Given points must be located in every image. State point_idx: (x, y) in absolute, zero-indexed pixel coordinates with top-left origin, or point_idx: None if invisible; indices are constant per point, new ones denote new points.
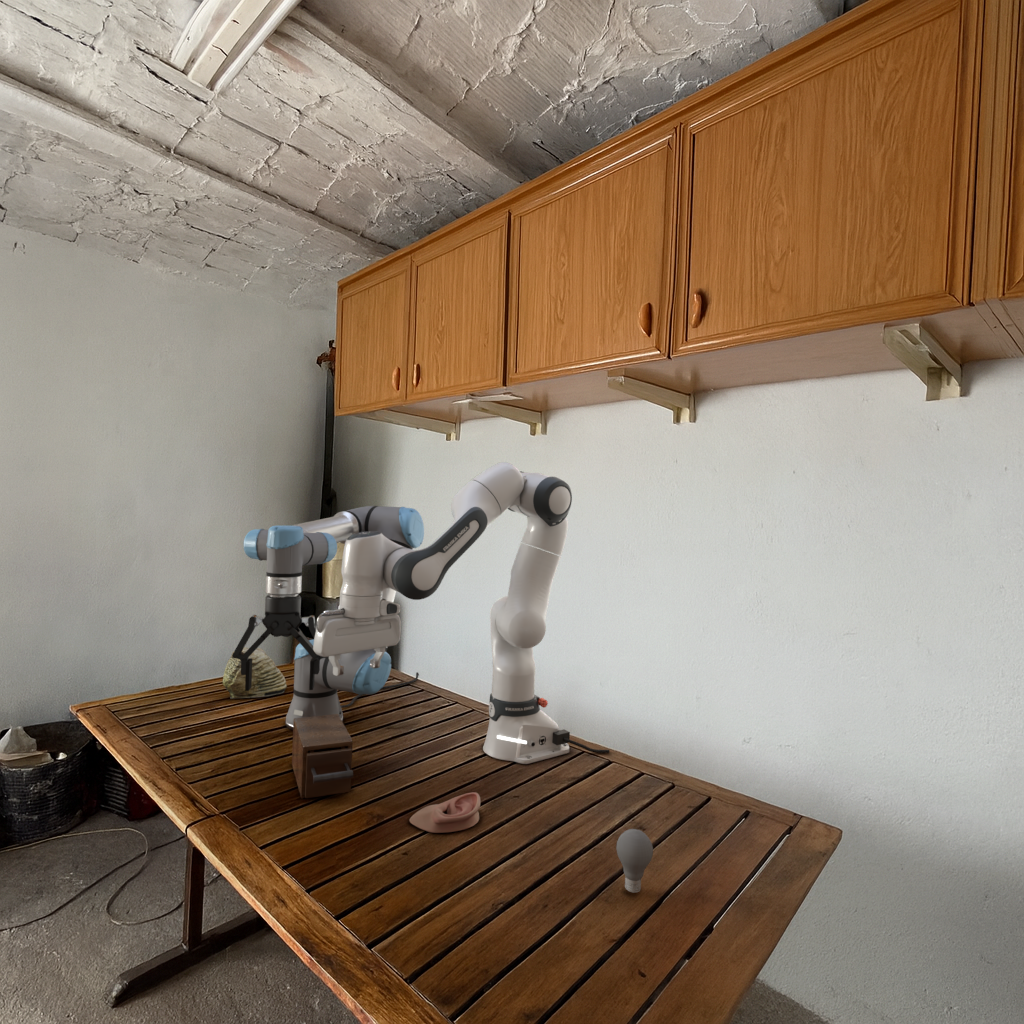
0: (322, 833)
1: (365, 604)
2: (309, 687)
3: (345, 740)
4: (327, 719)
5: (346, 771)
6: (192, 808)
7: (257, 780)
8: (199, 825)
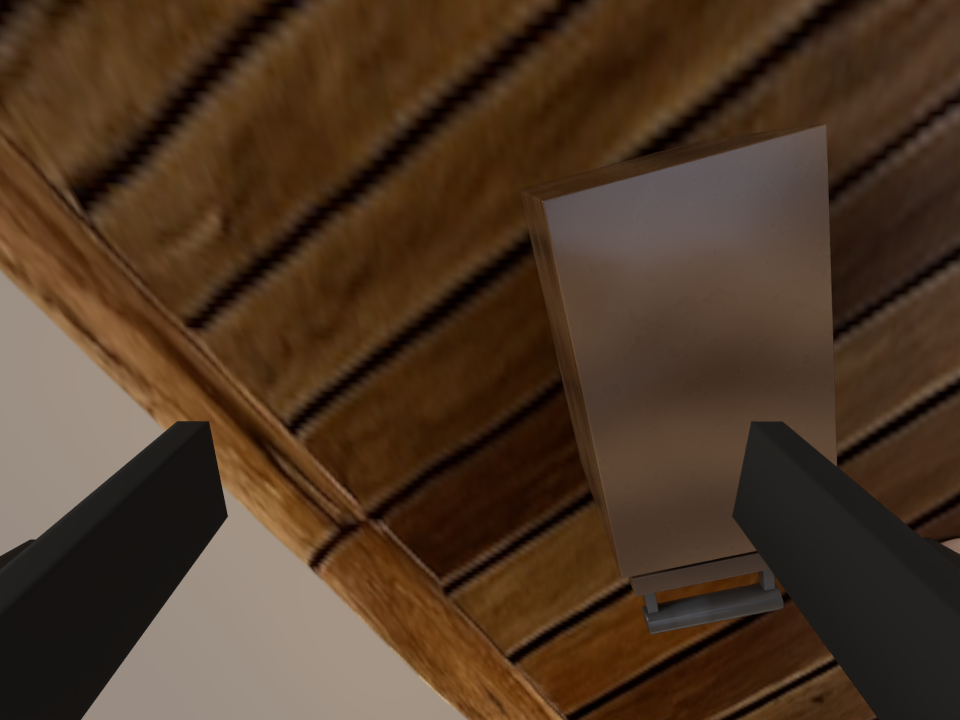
0: (644, 622)
1: None
2: (744, 531)
3: None
4: (748, 234)
5: (761, 610)
6: (281, 488)
7: (417, 323)
8: (338, 568)
